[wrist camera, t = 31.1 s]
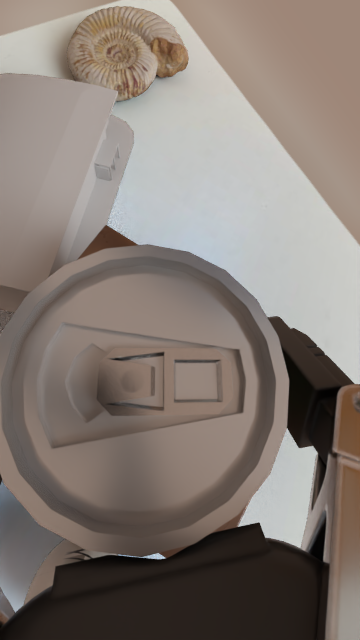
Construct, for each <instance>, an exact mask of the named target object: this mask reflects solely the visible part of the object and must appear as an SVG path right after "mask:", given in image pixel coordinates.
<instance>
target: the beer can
mask: <svg viewBox="0 0 360 640" xmlns="http://www.w3.org/2000/svg"><path fill="white" fill-rule="evenodd" d="M288 396H289V377H288V373H287V369H286V365H285V361H284V357H283V353H282V349H281V345H280V341H279V337H278V335H277V333H276V332H275V330H274V328H273V326H272V325H271V323H270V321H269V320H268V318H267V316H266V315H265V313H264V311H263V310H262V308H261V306H260V304H259V303H258V301H257V299H256V298H255V297H253V296H252V295H251V294H250V293H249V292H248V291H247V290H246V289H245V288H244V287H243V286H242V285H241V284H240V283H238V282H237V281H236V280H235V279H234V278H233V277H232V276H231V275H230V274H229V273H228V272H227V271H225V270H223V269H221V268H219V267H218V266H216V265H214V264H212V263H210V262H208V261H206V260H204V259H202V258H200V257H198V256H196V255H194V254H192V253H190V252H186V251H181V250H175V249H170V248H164V247H159V246H154V245H148V244H147V245H137V246H127V247H117V248H107V249H103V250H101V251H98V252H96V253H93V254H91V255H88V256H86V257H83V258H81V259H78V260H76V261H73V262H71V263H68V264H66V265H64V266H62V267H61V268H60V269H59V270H57V271H56V272H55V273H54V274H52V275H51V276H50V277H48V278H47V279H46V280H45V281H43V282H42V283H41V284H40V285H38V286H37V287H36V288H35V289H33V290H32V291H31V292H29V293H28V294H27V296H26V297H25V299H24V300H23V301H22V303H21V304H20V306H19V307H18V309H17V310H16V311H15V313H14V314H13V316H12V317H11V319H10V320H9V321H8V323H7V324H6V326H5V327H4V329H3V330H2V331H1V333H0V474H1V477H2V480H3V483H4V485H5V486H6V487H7V488H8V489H9V490H10V491H11V493H12V494H13V495H14V496H15V497H16V498H17V500H18V501H19V502H20V503H21V504H22V505H23V507H24V508H25V509H26V510H27V511H28V512H29V514H30V515H31V516H32V517H33V518H34V519H35V521H36V522H37V523H38V524H39V525H40V526H42V527H44V528H46V529H48V530H50V531H52V532H53V533H55V534H57V535H59V536H61V537H63V538H65V539H67V540H69V541H70V542H72V543H74V544H76V545H78V546H80V547H82V548H84V549H85V550H87V551H95V552H104V553H112V554H121V555H129V556H137V557H144V556H148V555H152V554H156V553H160V552H164V551H168V550H172V549H176V548H180V547H184V546H188V545H192V544H195V543H196V542H198V541H199V540H201V539H202V538H204V537H205V536H207V535H208V534H210V533H211V532H213V531H214V530H216V529H217V528H219V527H220V526H222V525H223V524H225V523H226V522H228V521H229V520H231V519H232V518H234V517H235V516H237V515H238V514H239V513H240V512H241V511H242V509H243V508H244V507H245V505H246V504H247V503H248V502H249V500H250V499H251V498H252V496H253V495H254V494H255V493H256V491H257V490H258V489H259V487H260V486H261V485H262V483H263V482H264V481H265V480H266V478H267V477H268V476H269V474H270V473H271V470H272V467H273V464H274V462H275V459H276V456H277V453H278V451H279V448H280V445H281V442H282V440H283V437H284V434H285V431H286V428H287V417H288Z"/></svg>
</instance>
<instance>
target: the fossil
mask: <svg viewBox="0 0 360 640" xmlns="http://www.w3.org/2000/svg"><path fill="white" fill-rule="evenodd" d="M67 60H68V65H69V67H70V70H71V72H72V74H73V76H74V78H75V80H76V81H77V82H83V83H88V84H93V85H97V86H101V87H105V88H108V89H112V90H116V91H118V95H117V98H116V100H115V101H122V100H127V99H131V98H132V97H137V96H139V95H140V94H142V93H143V92H144V91H146V90H147V89H148V87H149V86H150V85H151V83H152V82H153V81H154V79H155V76H156V75H158V76H160V77H166V76H168V77H172V76H173V75H175V74H176V73H177V72H179V71H183V70H184V69H185V68H186V66H187V64H188V51H187V49H186V47H185V46H184V44H183V41H182V39H181V38H180V36H179V34H178V33H177V31H176V29H175V27H173V26H172V25H171V24H169V23H168V22H167V21H166V20H165V19H163V18H162V17H160V16H158V15H157V14H155V13H153V12H150V11H147V10H144V9H139V8H134V7H126V6H124V7H119V6H116V7H110V8H107V9H101V10H100V11H99V10H98V11H97V12H95V13H93V14H91V15H89V16H88V17H87V18H86V19H84V20H83V21H82V22H81V23H80V24H79V26H78V27H77V29H76V31H75V33H74V35H73V37H72V38H71V40H70V43H69V45H68V48H67Z"/></svg>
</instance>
